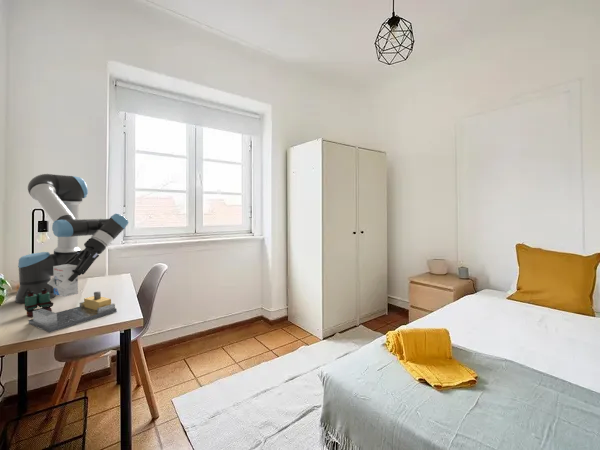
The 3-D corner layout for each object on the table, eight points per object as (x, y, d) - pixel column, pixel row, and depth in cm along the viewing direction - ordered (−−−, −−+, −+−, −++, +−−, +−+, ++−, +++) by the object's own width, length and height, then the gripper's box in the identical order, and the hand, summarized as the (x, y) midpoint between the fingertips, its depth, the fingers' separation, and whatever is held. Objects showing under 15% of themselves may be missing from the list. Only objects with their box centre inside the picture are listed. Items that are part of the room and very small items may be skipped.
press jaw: (84, 306, 124) (83, 291, 124) (96, 303, 129) (96, 289, 128) (99, 311, 119) (98, 295, 118) (111, 307, 123) (110, 292, 123)
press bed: (28, 323, 110) (27, 310, 109) (94, 305, 131) (94, 294, 130) (49, 332, 101) (48, 317, 101) (116, 311, 122) (116, 299, 122)
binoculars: (27, 296, 113) (22, 290, 119) (28, 321, 114) (23, 313, 120) (55, 291, 120) (49, 285, 126) (56, 314, 122) (50, 307, 127)
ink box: (53, 294, 112) (51, 266, 112) (68, 291, 117) (66, 264, 116) (65, 297, 109) (63, 267, 108) (79, 293, 113) (78, 265, 113)
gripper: (118, 248, 121) (77, 294, 107) (92, 246, 131) (52, 288, 117) (105, 238, 116) (60, 284, 102) (78, 236, 126) (35, 278, 112)
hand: (56, 286), depth 110 cm, fingers closed on ink box, 9 cm apart
